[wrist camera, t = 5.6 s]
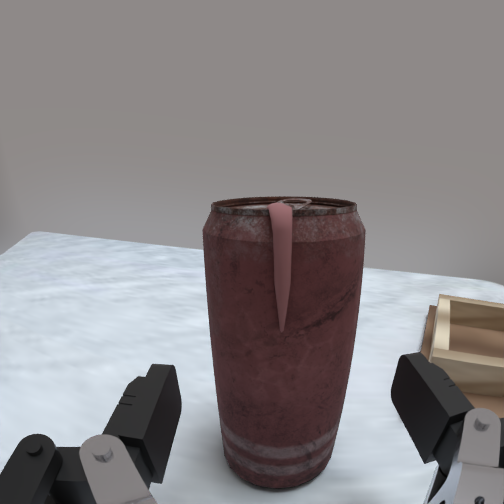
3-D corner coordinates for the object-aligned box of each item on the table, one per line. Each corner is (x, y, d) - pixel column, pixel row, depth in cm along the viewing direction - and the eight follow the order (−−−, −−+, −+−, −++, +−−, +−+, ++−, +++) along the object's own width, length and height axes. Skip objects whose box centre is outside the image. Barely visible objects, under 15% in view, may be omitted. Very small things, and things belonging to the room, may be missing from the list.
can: (224, 499, 11) (188, 210, 8) (226, 420, 18) (209, 195, 14) (341, 487, 12) (400, 208, 8) (318, 414, 18) (336, 193, 14)
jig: (561, 437, 8) (586, 396, 7) (401, 419, 16) (416, 377, 15) (529, 330, 22) (537, 300, 21) (427, 314, 30) (433, 284, 29)
